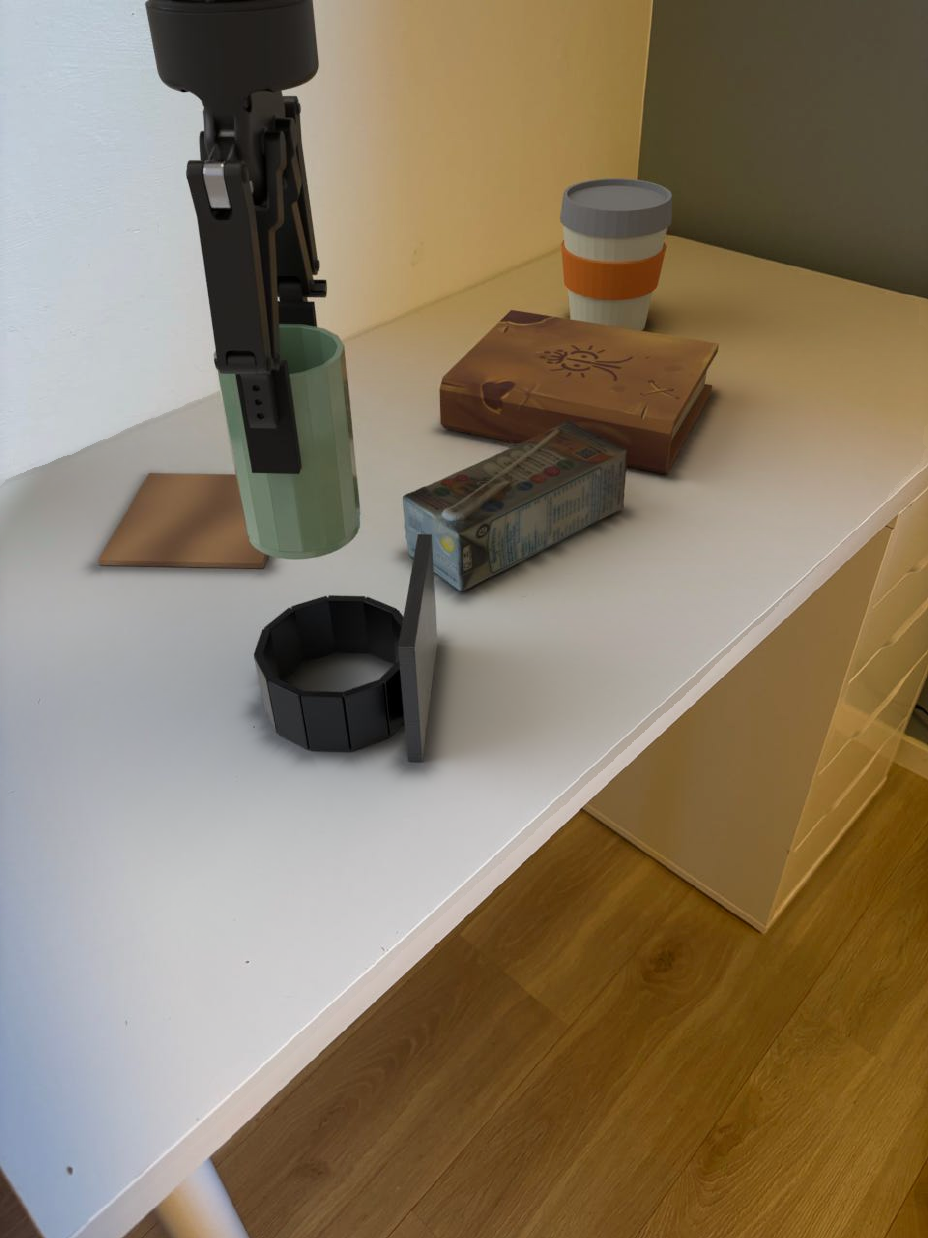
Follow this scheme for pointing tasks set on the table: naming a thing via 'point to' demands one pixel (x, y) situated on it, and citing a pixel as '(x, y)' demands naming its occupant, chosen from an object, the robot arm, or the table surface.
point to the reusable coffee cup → (613, 248)
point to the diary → (580, 385)
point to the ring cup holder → (355, 630)
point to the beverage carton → (516, 503)
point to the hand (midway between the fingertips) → (290, 434)
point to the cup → (302, 454)
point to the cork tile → (184, 525)
